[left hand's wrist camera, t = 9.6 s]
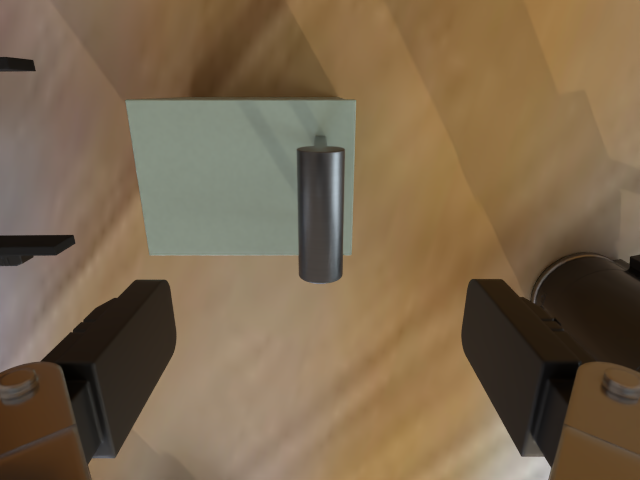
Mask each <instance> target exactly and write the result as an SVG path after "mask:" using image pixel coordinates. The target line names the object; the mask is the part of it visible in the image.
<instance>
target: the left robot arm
mask: <svg viewBox="0 0 640 480" xmlns="http://www.w3.org/2000/svg"><path fill="white" fill-rule="evenodd" d="M461 337H462V346H463V350H464V353H465V355H466V357H467V359H468V360H469V362H470V364H471V366H472V368H473V369H474V371H475V373H476V375H477V377H478V379H479V380H480V382H481V384H482V386H483V388H484V389H485V391H486V393H487V395H488V397H489V398H490V400H491V402H492V404H493V406H494V407H495V409H496V411H497V413H498V415H499V417H500V418H501V420H502V422H503V424H504V426H505V427H506V429H507V431H508V433H509V435H510V436H511V438H512V440H513V442H514V444H515V445H516V447H517V449H518V451H519V453H520V455H521V456H522V457H545V458H546V460H547V461H548V463H549V465H550V466H551V472H550V475H549V479H548V480H640V255H636V256H631V257H630V264H628V263H627V262H625V261H623V260H621V259H619V260H610V259H609V258H607V257H605V256H603V255H600V254H595V253H578V254H573V255H570V256H567V257H564V258H562V259H560V260H558V261H556V262H555V263H553V264H552V265H551V266H549V267H548V268H547V269H546V270H545V271H544V272H543V273H542V274H541V276H540V277H539V278H538V280H537V282H536V283H535V285H534V288H533V291H532V295H531V301H529V300H527V299H525V298H524V297H519V296H518V295H517V294H516V293H515V292H514V291H513V290H512V289H511V288H510V287H509V286H508V285H507V284H506V283H505V282H504V281H503V280H502V279H472V280H471V281H470V282H469V285H468V289H467V296H466V303H465V310H464V317H463V324H462V333H461ZM175 345H176V326H175V319H174V312H173V305H172V298H171V291H170V286H169V284H168V282H167V281H166V280H135V281H134V282H133V283H132V284H131V285H130V286H129V287H128V288H127V289H126V290H125V291H124V292H123V293H122V294H121V295H120V296H119V297H118V298H113V299H111V300H110V301H108V302H106V303H104V304H102V305H100V306H99V307H97V308H95V309H94V310H93V311H92V312H91V313H90V314H89V315H88V316H87V317H86V318H85V319H84V321H83V322H81V323H80V324H79V325H78V326H77V327H76V328H75V329H74V330H73V332H70V333H69V334H68V335H67V336H66V337H65V338H64V339H63V340H62V341H61V342H60V343H59V344H58V345H57V346H56V347H55V348H54V349H53V350H52V351H51V352H50V353H49V354H48V355H47V356H46V357H45V358H43V359H42V360H41V361H40V362H32V363H27V364H23V365H19V366H16V367H13V368H10V369H8V370H5V371H3V372H1V373H0V480H92V479H91V475H90V472H89V468H88V464H89V462H90V460H91V459H92V458H115V457H116V455H117V454H118V452H119V450H120V448H121V447H122V445H123V443H124V441H125V439H126V438H127V436H128V434H129V432H130V430H131V429H132V427H133V425H134V423H135V422H136V420H137V418H138V416H139V414H140V413H141V411H142V409H143V407H144V405H145V404H146V402H147V400H148V398H149V396H150V395H151V393H152V391H153V389H154V388H155V386H156V384H157V382H158V380H159V379H160V377H161V375H162V373H163V371H164V370H165V368H166V366H167V364H168V363H169V361H170V359H171V357H172V355H173V353H174V350H175Z"/></svg>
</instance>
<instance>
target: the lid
mask: <svg viewBox="0 0 640 480" xmlns="http://www.w3.org/2000/svg"><path fill="white" fill-rule="evenodd" d="M125 101H126V108H127V114H128V120H129V127H130V133H131V140H132V146H133V152H134V159H135V165H136V172H137V178H138V184H139V191H140V197H141V204H142V210H143V216H144V223H145V229H146V236H147V242H148V248H149V255H299V276H300V278H301V279H303V280H304V281H307V282H310V283H317V284H325V283H331V282H335V281H337V280H339V279H340V278H341V277H342V272H343V255H351V254H352V222H353V187H354V153H355V119H356V100H354V99H132V100H125Z"/></svg>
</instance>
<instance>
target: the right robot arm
mask: <svg viewBox="0 0 640 480" xmlns="http://www.w3.org/2000/svg"><path fill="white" fill-rule="evenodd" d="M0 71H36V70H35V66H34V62H33V60H28V59H19V58H10V57H0ZM74 244H75V240H74V235H19V236H0V266H18V265H20V264H22V263H24V262H26V261H28V260H29V259H31V258H33V256H35V255H57V254H59V253H61V252H62V251H64V250H65V249H67V248H69V247H70V246H72V245H74Z"/></svg>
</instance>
